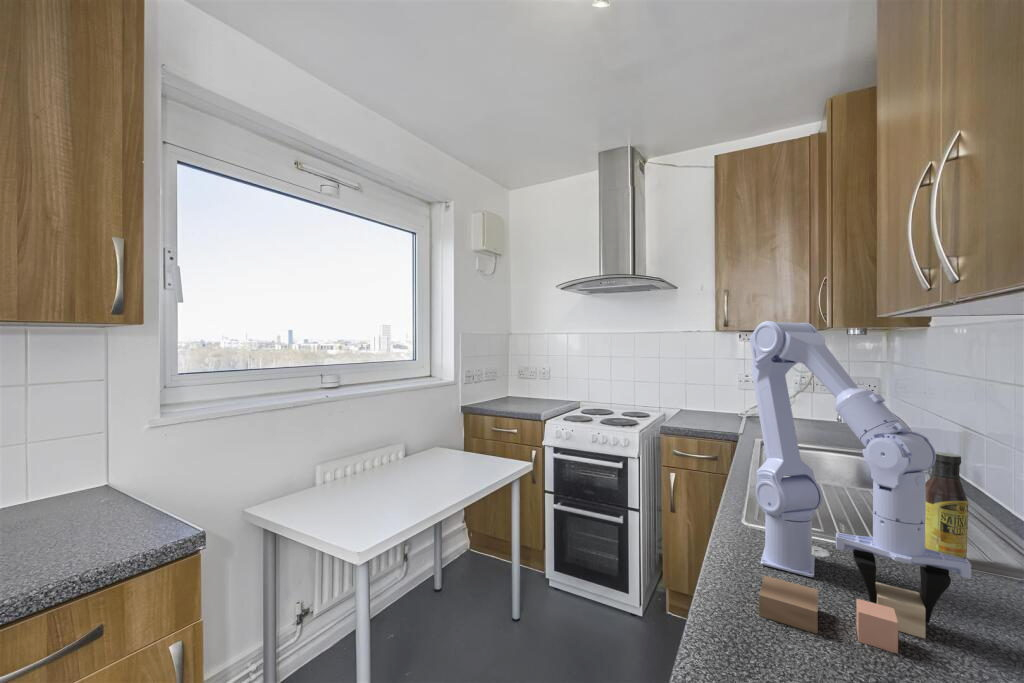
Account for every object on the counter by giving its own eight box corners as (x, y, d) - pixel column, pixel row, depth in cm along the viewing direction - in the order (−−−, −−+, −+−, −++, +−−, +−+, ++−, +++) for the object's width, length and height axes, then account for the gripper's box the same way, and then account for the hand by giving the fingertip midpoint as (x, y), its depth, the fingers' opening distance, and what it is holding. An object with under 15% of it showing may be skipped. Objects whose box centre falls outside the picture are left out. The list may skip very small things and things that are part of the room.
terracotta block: (856, 627, 62) (856, 598, 62) (893, 638, 60) (893, 608, 60) (858, 642, 59) (858, 611, 59) (897, 654, 57) (897, 622, 57)
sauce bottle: (944, 567, 80) (944, 457, 80) (911, 551, 86) (911, 449, 87) (978, 567, 80) (978, 457, 81) (943, 551, 87) (943, 450, 87)
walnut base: (763, 594, 70) (764, 575, 70) (817, 609, 66) (817, 589, 66) (759, 615, 64) (759, 594, 64) (817, 634, 60) (817, 611, 60)
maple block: (873, 608, 67) (874, 581, 67) (918, 620, 64) (918, 592, 64) (877, 624, 63) (877, 596, 63) (925, 638, 60) (925, 608, 60)
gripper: (837, 513, 65) (836, 607, 64) (978, 539, 56) (978, 646, 56) (835, 500, 70) (834, 586, 70) (963, 521, 62) (963, 619, 62)
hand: (898, 611), depth 64 cm, fingers closed on maple block, 5 cm apart
